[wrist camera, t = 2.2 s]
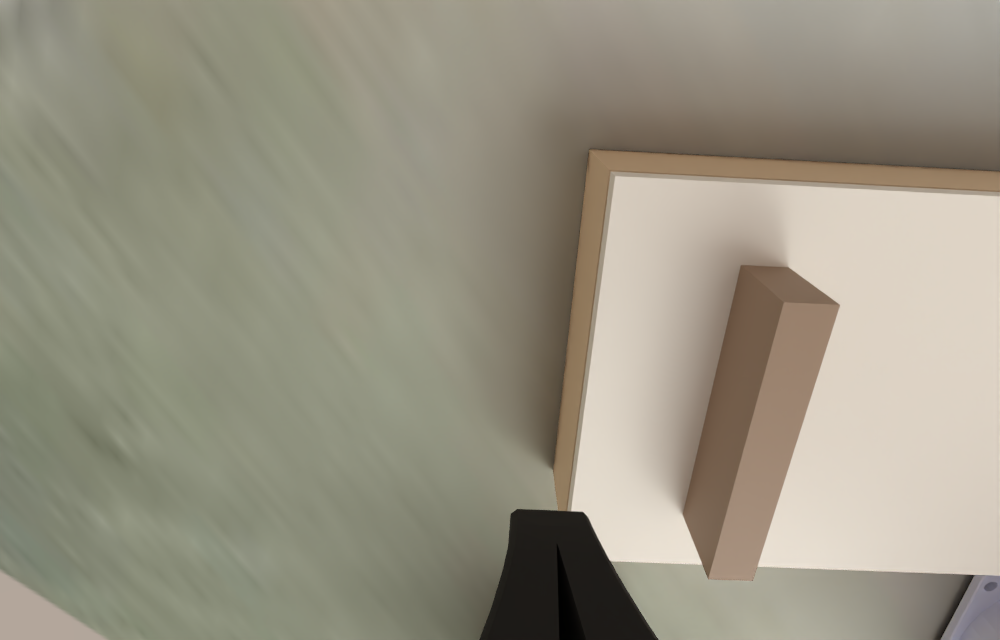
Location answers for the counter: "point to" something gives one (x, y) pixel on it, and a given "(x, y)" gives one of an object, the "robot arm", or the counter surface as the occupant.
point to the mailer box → (709, 167)
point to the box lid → (793, 377)
